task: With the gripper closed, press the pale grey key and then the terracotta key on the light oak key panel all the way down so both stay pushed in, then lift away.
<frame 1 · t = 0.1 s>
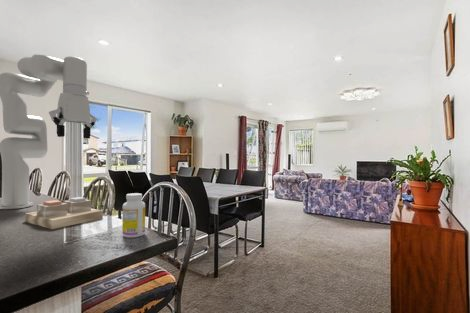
hand: (74, 137, 98), 31 cm above the counter, tool pointing down, fingers open, 9 cm apart
key panel: (65, 219, 98), on the counter
pale grey key: (77, 201, 102), point 6 cm above the counter, slide at 0.0 cm
supplement bottle: (133, 235, 82), on the counter
terracotta key: (52, 205, 94), point 6 cm above the counter, slide at 0.0 cm
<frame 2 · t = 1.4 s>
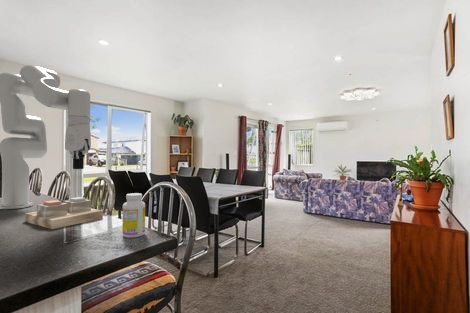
hand: (78, 168, 102), 19 cm above the counter, tool pointing down, fingers closed
nothing on the counter moved.
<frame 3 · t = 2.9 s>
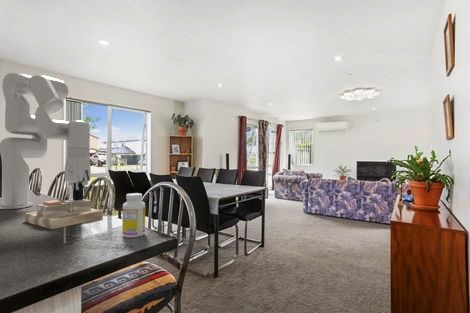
hand: (78, 199, 102), 7 cm above the counter, tool pointing down, fingers closed
pale grey key: (77, 203, 102), point 5 cm above the counter, slide at 0.6 cm, touching gripper
everything else where it was.
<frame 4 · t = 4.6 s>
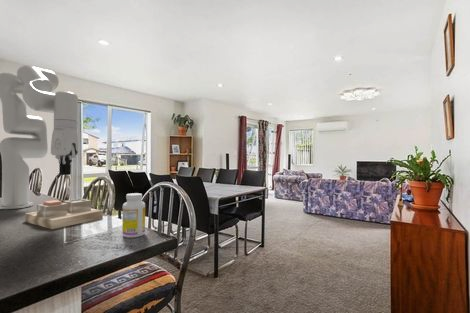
hand: (65, 174, 98), 17 cm above the counter, tool pointing down, fingers closed
pale grey key: (77, 205, 102), point 5 cm above the counter, slide at 1.4 cm
everything else where it was.
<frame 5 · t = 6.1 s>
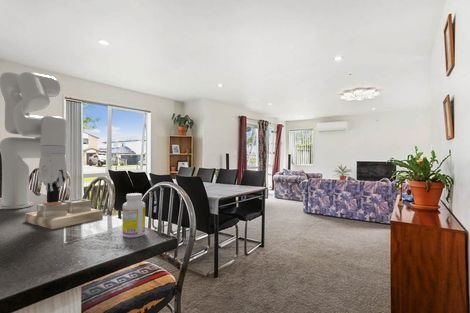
hand: (52, 201, 94), 8 cm above the counter, tool pointing down, fingers closed
terracotta key: (52, 205, 94), point 6 cm above the counter, slide at 0.1 cm, touching gripper
everything else where it was.
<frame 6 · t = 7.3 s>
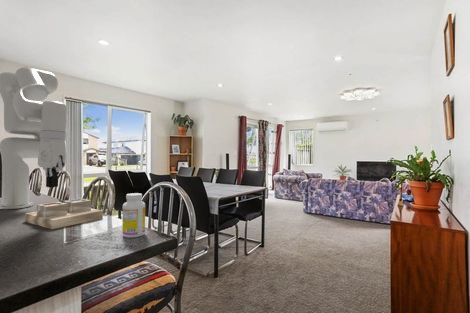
hand: (51, 186, 95), 13 cm above the counter, tool pointing down, fingers closed
terracotta key: (52, 209, 94), point 5 cm above the counter, slide at 1.4 cm
everything else where it was.
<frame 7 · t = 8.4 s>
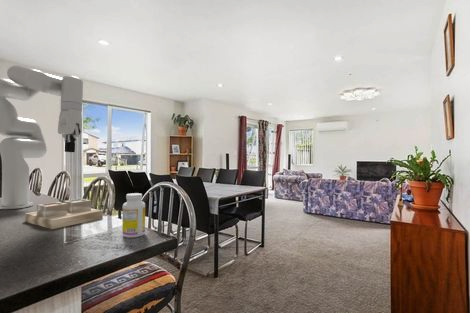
hand: (69, 151, 108), 26 cm above the counter, tool pointing down, fingers closed
nothing on the counter moved.
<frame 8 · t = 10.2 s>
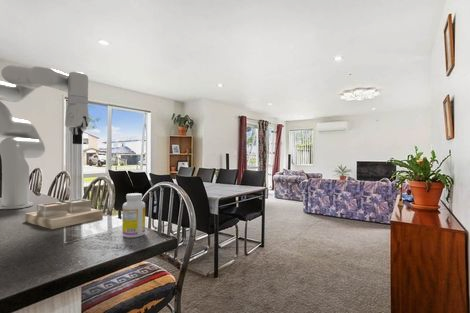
hand: (77, 143, 113), 29 cm above the counter, tool pointing down, fingers closed
nothing on the counter moved.
at the end: pale grey key slide at 1.4 cm; terracotta key slide at 1.4 cm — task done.
